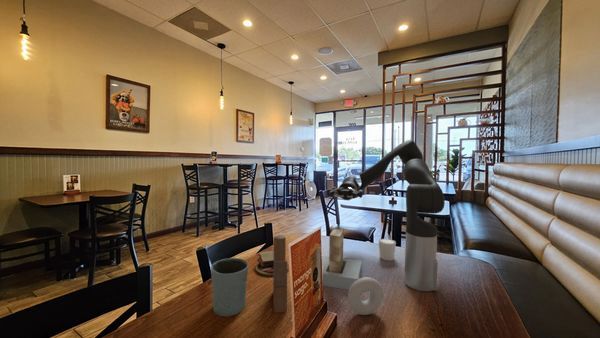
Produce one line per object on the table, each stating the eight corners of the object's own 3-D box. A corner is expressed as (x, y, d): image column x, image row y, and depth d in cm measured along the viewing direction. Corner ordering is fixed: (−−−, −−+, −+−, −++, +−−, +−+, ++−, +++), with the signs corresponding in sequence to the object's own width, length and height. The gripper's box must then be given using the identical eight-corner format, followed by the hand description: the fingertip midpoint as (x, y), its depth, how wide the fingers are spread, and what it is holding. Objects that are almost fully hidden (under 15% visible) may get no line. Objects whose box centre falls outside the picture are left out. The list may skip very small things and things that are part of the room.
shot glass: (377, 254, 109) (377, 238, 109) (393, 254, 108) (393, 239, 108) (379, 260, 103) (380, 243, 102) (397, 261, 102) (397, 244, 101)
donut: (350, 320, 65) (351, 283, 64) (345, 312, 68) (345, 276, 68) (385, 315, 67) (386, 278, 67) (378, 307, 70) (379, 272, 70)
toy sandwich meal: (256, 279, 87) (256, 265, 87) (254, 262, 100) (254, 251, 100) (292, 275, 90) (292, 262, 90) (285, 260, 103) (285, 248, 103)
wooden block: (273, 313, 68) (273, 247, 67) (273, 291, 78) (273, 234, 77) (287, 312, 68) (287, 247, 67) (284, 291, 79) (285, 234, 78)
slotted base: (361, 271, 92) (361, 260, 92) (357, 291, 79) (357, 279, 79) (319, 265, 97) (319, 255, 97) (308, 283, 84) (308, 271, 84)
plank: (342, 272, 91) (343, 229, 91) (339, 283, 84) (340, 236, 83) (333, 271, 92) (333, 228, 92) (328, 281, 85) (329, 235, 84)
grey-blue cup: (218, 296, 76) (218, 257, 75) (252, 297, 75) (252, 257, 75) (205, 318, 65) (204, 273, 65) (243, 319, 65) (243, 273, 65)
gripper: (332, 181, 115) (324, 184, 99) (364, 182, 110) (361, 186, 95) (331, 197, 115) (324, 203, 99) (363, 199, 110) (361, 205, 95)
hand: (342, 194), depth 97 cm, fingers open, 8 cm apart
